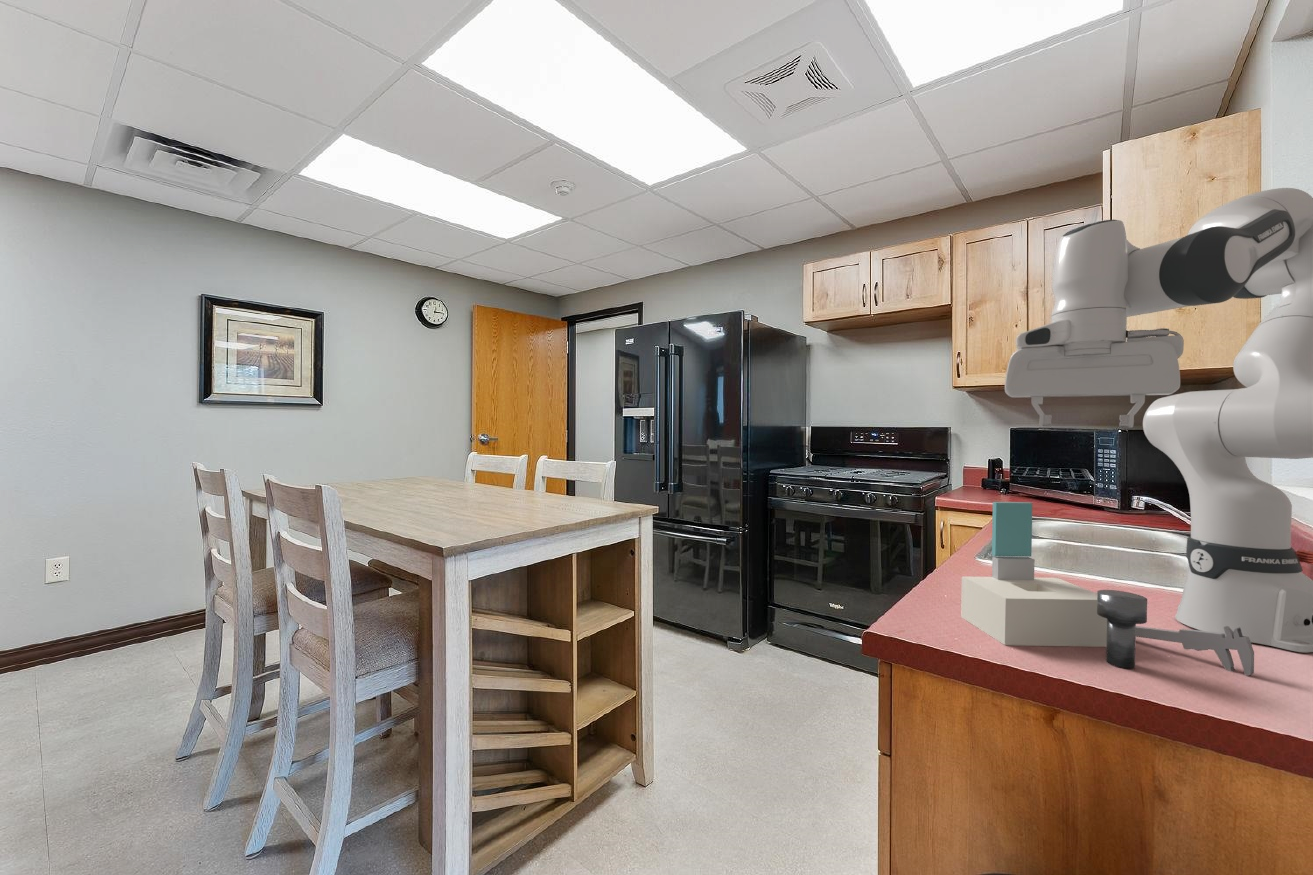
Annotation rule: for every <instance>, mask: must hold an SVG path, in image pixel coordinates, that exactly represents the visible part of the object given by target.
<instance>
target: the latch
mask: <svg viewBox="0 0 1313 875" xmlns="http://www.w3.org/2000/svg"><path fill="white" fill-rule="evenodd" d="M991 523H992V526H991V527H992V528H991V530H992V531H991V532H992V533H991V555H992V556H993V557H1032V548H1033V547H1032V544H1033V540H1032V539H1033V503H1032V502H1030V501H1029V502H1025V501H1024V502H1022V501H1014V502H1012V501H1004V502H1003V501H993V502H992V522H991Z"/></svg>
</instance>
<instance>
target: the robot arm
mask: <svg viewBox="0 0 1313 875" xmlns="http://www.w3.org/2000/svg"><path fill="white" fill-rule="evenodd" d="M1126 232H1127V231H1126V227H1125V224H1124V222H1123V221H1122V220H1118V219H1104V220H1100V221H1096V222H1092V223H1088V224H1085V225H1081V226H1079V227H1075V228H1074V229H1071V230H1069V231H1067V232H1065V233H1064V234H1063V235H1062V236H1061V237H1060V238H1059V240H1058V242H1057V245H1056V248H1055V252H1054V256H1053V264H1052V273H1051V274H1052V277H1051V278H1052V279H1051V280H1052V281H1051V290H1052V294H1053V299H1054V304H1053V305H1054V306H1053V308H1052V310H1051V315H1050V323H1047V324H1044V325H1041V326H1039V327H1035V328H1032V329H1030V330H1026V331H1024V332H1021V333H1020V334H1018V335H1017V336H1016V337H1015V338H1016V339H1015V347H1016V348H1017V350H1016V351H1014V352H1013V353H1012V354H1011V356H1010V357H1009V360H1008V364H1007V368H1006V373H1005V379H1004V380H1005V381H1004V392H1005V394H1006V395H1007V396H1008V397H1010V398H1031V406H1032V407H1033V408H1034V410H1035V411H1036V413H1037V415H1039V423H1038V424H1039V427H1041V428H1043V427H1044V428H1045V427H1048V428H1049V427H1051V428H1052V416H1053V415H1052V414H1045V413H1044V411H1043V410H1042V408H1041V407H1040V405H1043V404H1044V403H1043V402H1044V398H1053V397H1054V398H1058V397H1059V398H1061V397H1062V398H1063V397H1070V398H1071V397H1110V396H1111V397H1115V396H1117V397H1119V396H1127V397H1128V396H1130V403H1131V404H1134V405H1133V406H1132V407H1131V409H1130V410H1129V411H1128V413H1127V414H1119V419H1118V420H1119V421H1120V422H1119V425H1118V426H1119V428H1133V427H1134V425H1135V424H1134V423H1135V419H1134V418H1135V415H1136V414H1137V413H1138V411H1139V410H1140V409H1142V407H1143V406H1144V404H1145V402H1146V396H1162V397H1161V398H1157V399H1156V400H1154V401H1153V402H1152V403H1151V404H1150V405H1149V406H1148V408H1147V409H1146V411H1145V413H1144V415H1143V419H1142V428H1143V432H1144V435H1145V437H1146V439H1147V440H1148V442H1149V443H1150V444H1151V445H1152V446H1153V447H1155V448H1157V449H1158V450H1159V451H1161V452H1163V454H1165V455H1166V456H1167V457H1168V458H1169V459H1170V460H1171V461H1172V462H1173V463H1174V465H1175V466H1176V467H1177V469H1178V470H1179V471H1180V473H1181V475H1182V478H1183V479H1184V481H1185V484H1186V487H1187V490H1188V494H1189V496H1188V497H1189V506H1190V536H1188V537H1187V539H1186V546H1185V548H1186V550H1185V551H1186V552H1185V553H1186V555H1185V557H1186V558H1187V562H1188V567H1187V569H1186V574H1185V578H1184V585H1183V589H1182V595H1181V598H1180V603H1179V604H1177V612H1176V614H1175V616H1174V618H1175V620H1176V621H1178V622H1179V623H1181V624H1184V625H1185V626H1187V627H1190V628H1192V629H1194V630H1199V631H1209V632H1218V633H1224V634H1225V631H1224V627H1225V626H1229V627H1230V628H1231V630H1232V631H1233V632H1234V630H1235V629H1236V628H1239V627H1240V628H1241V632H1242V635H1243V636H1246V637H1249V639H1250V642H1251V643H1254V644H1259V645H1265V646H1271V647H1275V648H1279V649H1281V650H1282V649H1283V650H1287V651H1292V652H1296V653H1313V579H1312V578H1310V577H1309V576H1307V575H1306V574H1305V573H1303V571H1304V569H1303V567H1302V565H1301V563H1305V564H1307V565H1308V564H1309V565H1313V551H1311V550H1309V551H1308V550H1305V549H1298V550H1296V551H1295V549H1294V548H1293V547H1292V546H1291V545H1292V517H1293V516H1292V514H1293V513H1292V509H1293V504H1292V502H1291V500H1290V498H1289V497H1288V496H1287V495H1286V493H1285V492H1284V491H1283V490H1282V489H1280V488H1278V487H1277V486H1274V485H1273V484H1270V483H1268V482H1266V481H1264V480H1261V479H1260V478H1258V477H1257V476H1255V475H1254V473H1253V472H1252V471H1251V469H1250V468H1249V466H1248V464H1247V461H1246V458H1263V459H1265V458H1266V459H1267V458H1268V459H1289V460H1299V459H1301V460H1302V459H1303V460H1304V459H1312V458H1313V196H1312V195H1310V194H1309V193H1308V192H1306V191H1304V190H1302V189H1299V188H1294V187H1279V188H1271V189H1267V190H1261V191H1257V192H1254V193H1250V194H1246V195H1244V196H1242V197H1239V198H1236V199H1234V200H1232V201H1231V200H1230V201H1229V202H1226V203H1224V204H1222V205H1220V206H1218V207H1216V208H1214V209H1212V210H1211V211H1209V212H1208V213H1206V214H1204V215H1203V216H1202V217H1200V218H1199V219H1198V220H1197V221H1195V223H1193V225H1192V226H1191V227H1190V229H1189V231H1188V233H1187V235H1185V236H1182V237H1179V238H1175V239H1171V240H1168V241H1165V242H1160V243H1157V244H1155V245H1150V246H1146V247H1144V248H1140V247H1137V246H1135V245H1133V244H1132V243H1131V242H1130V241H1129V240H1128V239H1127V233H1126ZM1280 294H1281V296H1280V299H1279V302H1278V304H1276V305H1275V306H1274V308H1272V309H1271V310H1270V312H1269V313H1267V315H1266V316H1264V318H1263V319H1262V320H1261V321H1260V322H1259V324H1258V325H1257V326H1256V327H1255V329H1254V330H1253V332H1252V333H1251V334H1250V336H1249V337H1248V339H1247V340H1246V342H1245V343H1244V344H1243V346H1242V347H1241V349H1240V350H1239V351H1238V353H1237V354H1236V355H1235V357H1234V360H1233V364H1232V367H1233V368H1232V369H1233V374H1234V376H1235V378H1236V379H1237V381H1238V382H1239V383H1240V384H1241V385H1243V386H1244V388H1234V389H1216V390H1215V389H1212V390H1198V391H1195V390H1194V391H1186V392H1182V393H1177V394H1174V393H1175V392H1177V391H1178V390H1179V389H1180V387H1181V372H1180V370H1181V369H1180V363H1179V360H1178V359H1180V358H1181V356H1182V355H1183V353H1184V344H1185V343H1184V341H1185V339H1184V337H1183V335H1181V334H1180V333H1179V332H1177V331H1173V330H1170V328H1165V327H1163V328H1161V327H1160V328H1156V329H1137V330H1135V329H1134V330H1133V329H1132V330H1127V327H1128V326H1127V322H1128V320H1127V318H1129V317H1134V316H1135V317H1136V316H1140V315H1147V314H1153V313H1158V312H1164V311H1169V310H1170V311H1171V310H1176V309H1181V308H1185V307H1186V308H1187V307H1194V306H1195V307H1196V306H1197V307H1198V306H1205V305H1213V304H1220V303H1225V302H1227V301H1229V300H1230V299H1232V298H1234V299H1240V300H1241V299H1243V300H1245V299H1246V300H1248V299H1249V300H1250V299H1262V298H1265V297H1266V296H1270V295H1271V296H1273V295H1280ZM1163 396H1164V397H1163ZM1225 636H1226V634H1225Z"/></svg>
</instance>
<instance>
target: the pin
mask: <svg viewBox="0 0 1313 875" xmlns="http://www.w3.org/2000/svg"><path fill="white" fill-rule="evenodd" d="M1096 593H1097V614H1098V615H1099V616H1101V617H1104V618H1107V642H1106V647H1105V650H1106V651H1105V652H1106V653H1105V656H1106V657H1105V662H1106V663H1107V664H1108V665H1111V666H1113V667H1116V668H1120V669H1126V670H1132V669H1135V667H1136V666H1135V664H1136V637H1135V636H1136V626H1137V625H1144V624H1146V623H1147V622H1148V598H1147V597H1145V596H1143V595H1140V594H1136V593H1134V592H1129V591H1124V590H1116V589H1099V590H1097V592H1096Z"/></svg>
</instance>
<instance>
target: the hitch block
mask: <svg viewBox="0 0 1313 875" xmlns="http://www.w3.org/2000/svg"><path fill="white" fill-rule="evenodd" d="M991 560H992V561H991V568H992V569H991V571H992V572H991V576H964V575H963V576H961V592H960V593H961V596H960V597H961V600H960V604H961V606H960V611H961V612H960V618H962V619H963V620H964V621H966V622H968V623H969V624H971V625H973V626H974V627H975V628H977V629H979V630H980V631H982V632H983V633H985V634H986V635H988V636H990V637H991V638H993V639H994V640H996V641H997V642H999V643H1001V644H1002V645H1003V646H1024V647H1025V646H1028V647H1029V646H1031V647H1032V646H1036V647H1040V646H1042V647H1095V648H1096V647H1097V648H1098V647H1099V648H1100V647H1101V648H1104V647H1105V648H1106V642H1107V618H1104V617H1101V616H1099V615H1098V614H1097V592H1095V591H1092V590H1090V589H1087V588H1085V587H1082V586H1081V585H1080V586H1079V585H1076V584H1075V583H1071V582H1068V581H1066V580H1064V579H1061V578H1059V577H1040V576H1039V577H1035V558H1031V557H1030V556H992V559H991Z"/></svg>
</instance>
